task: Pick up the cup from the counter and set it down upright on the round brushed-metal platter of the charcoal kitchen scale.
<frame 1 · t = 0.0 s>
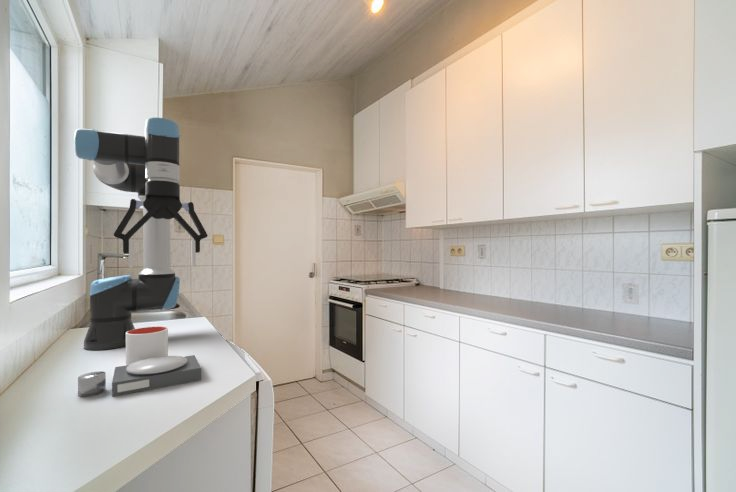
hand: (163, 266, 91), 28 cm above the countertop, fingers open, 13 cm apart
cup: (147, 367, 101), on the countertop
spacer: (92, 392, 82), on the countertop
scale: (158, 379, 90), on the countertop
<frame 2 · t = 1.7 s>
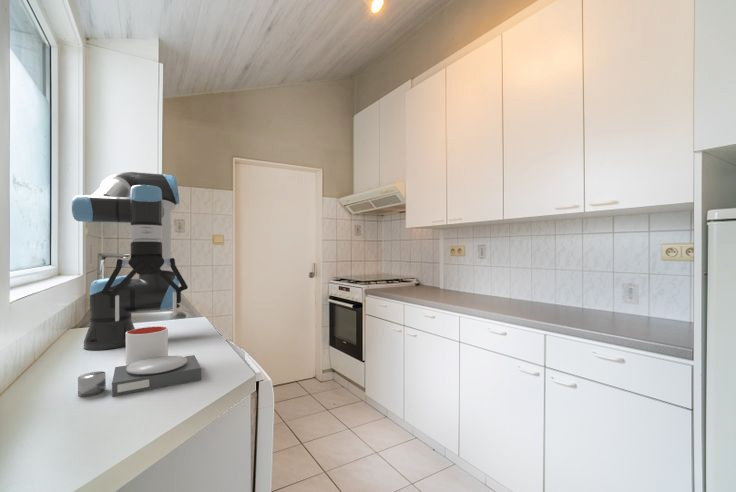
hand: (147, 317, 100), 13 cm above the countertop, fingers open, 13 cm apart
nothing on the countertop moved.
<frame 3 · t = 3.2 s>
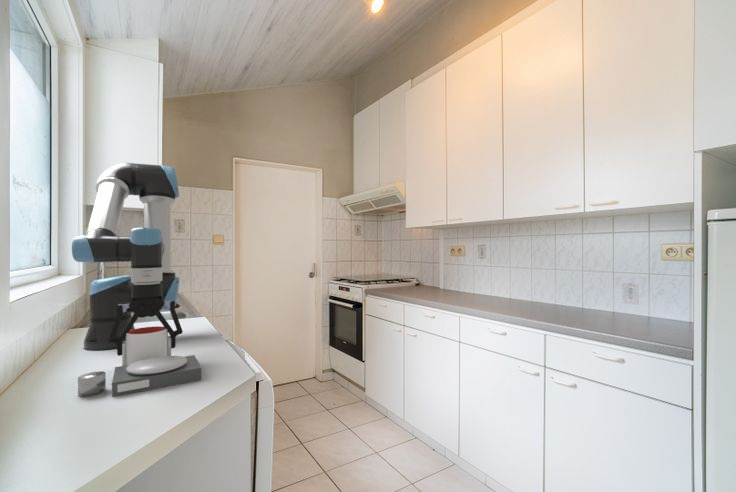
hand: (147, 363, 101), 1 cm above the countertop, fingers closed on cup, 10 cm apart
cup: (147, 366, 101), on the countertop, touching gripper
everything else where it was.
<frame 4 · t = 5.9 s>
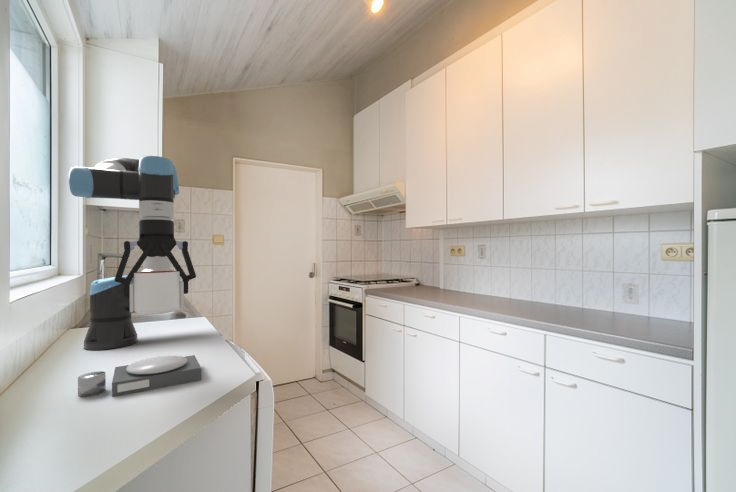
hand: (157, 308, 90), 18 cm above the countertop, fingers closed on cup, 10 cm apart
cup: (157, 312, 90), point 17 cm above the countertop, touching gripper
everything else where it was.
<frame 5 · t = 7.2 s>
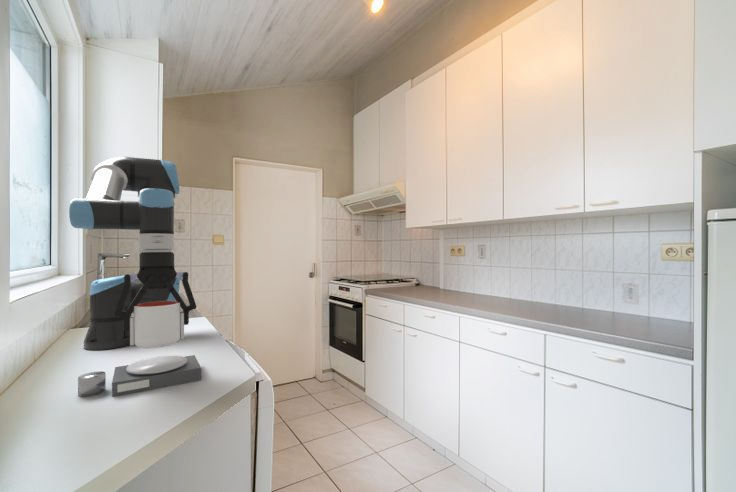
hand: (157, 340, 90), 10 cm above the countertop, fingers closed on cup, 10 cm apart
cup: (157, 344, 90), point 9 cm above the countertop, touching gripper
everything else where it was.
when the fingers open (6 cm above the countertop, at t = 8.4 s): cup drops 1 cm, resting on scale.
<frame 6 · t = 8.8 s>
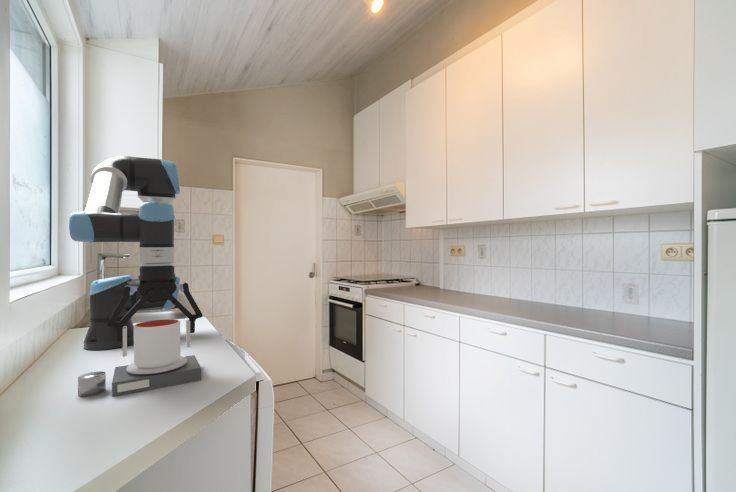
hand: (157, 350, 90), 7 cm above the countertop, fingers open, 13 cm apart
cup: (157, 364, 90), point 4 cm above the countertop, touching scale
everything else where it was.
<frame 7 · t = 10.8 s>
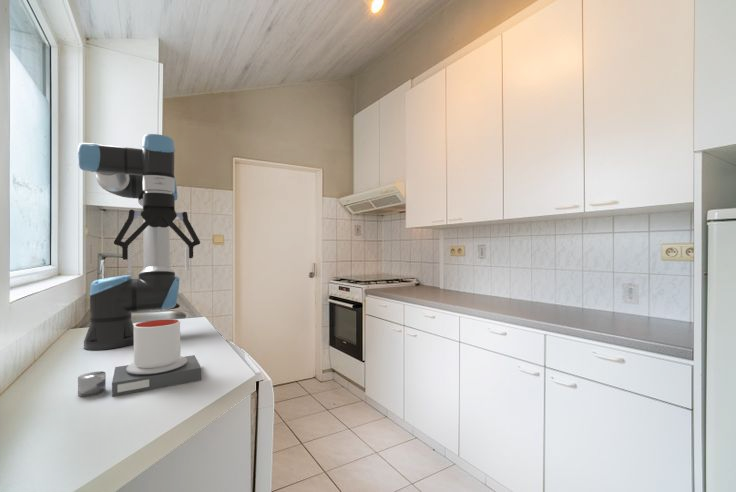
hand: (159, 271, 99), 26 cm above the countertop, fingers open, 13 cm apart
nothing on the countertop moved.
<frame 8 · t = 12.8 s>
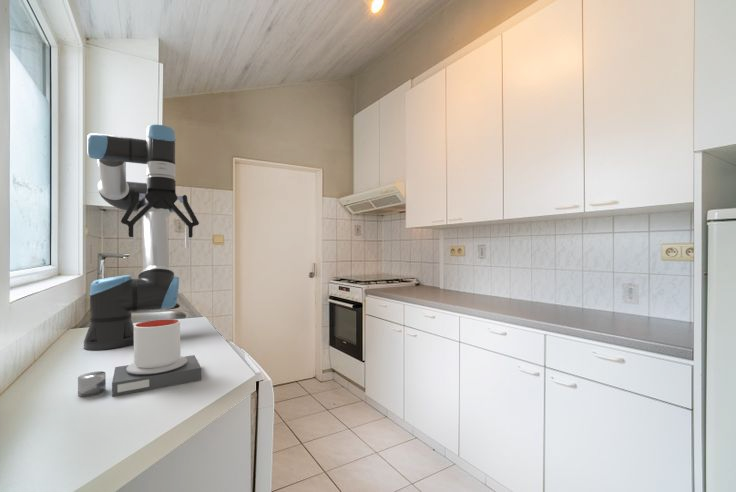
hand: (161, 248, 109), 33 cm above the countertop, fingers open, 13 cm apart
nothing on the countertop moved.
at the end: cup inside the target area on the scale (0.0 cm from its centre), point 3.8 cm above the scale's base; cup tilted 0°; the gripper is holding nothing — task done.
